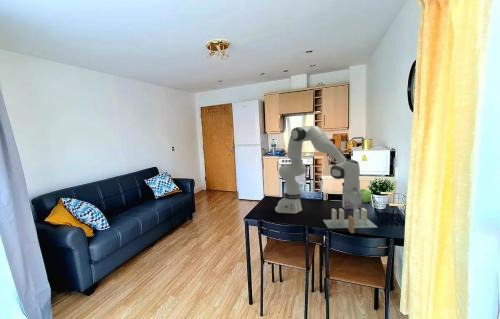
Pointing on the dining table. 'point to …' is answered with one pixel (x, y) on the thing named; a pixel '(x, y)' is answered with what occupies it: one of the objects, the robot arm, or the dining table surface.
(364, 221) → the domino
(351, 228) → the domino
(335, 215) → the domino
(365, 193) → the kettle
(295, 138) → the robot arm
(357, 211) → the domino
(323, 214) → the dining table surface
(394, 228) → the dining table surface
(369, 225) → the mat
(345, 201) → the candy box
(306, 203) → the dining table surface
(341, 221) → the domino
